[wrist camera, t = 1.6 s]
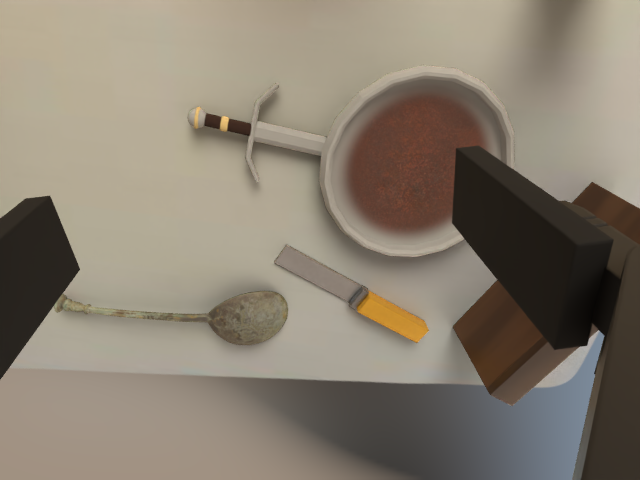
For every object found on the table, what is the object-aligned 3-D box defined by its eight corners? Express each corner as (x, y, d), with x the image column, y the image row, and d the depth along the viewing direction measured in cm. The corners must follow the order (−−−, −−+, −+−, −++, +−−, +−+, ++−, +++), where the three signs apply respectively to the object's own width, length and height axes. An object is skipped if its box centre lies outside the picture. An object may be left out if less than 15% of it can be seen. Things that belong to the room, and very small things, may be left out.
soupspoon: (283, 335, 49) (290, 282, 46) (285, 355, 46) (293, 300, 43) (63, 325, 45) (57, 267, 42) (49, 347, 42) (42, 286, 39)
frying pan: (198, -4, 31) (557, 97, 35) (205, -3, 33) (539, 90, 38) (172, 218, 38) (472, 276, 43) (179, 205, 41) (462, 261, 45)
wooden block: (452, 326, 49) (489, 395, 41) (592, 181, 43) (673, 227, 34) (471, 337, 50) (512, 406, 42) (611, 197, 44) (694, 245, 35)
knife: (273, 262, 44) (273, 270, 42) (286, 243, 43) (287, 251, 41) (411, 334, 49) (415, 344, 48) (425, 319, 49) (430, 329, 47)
